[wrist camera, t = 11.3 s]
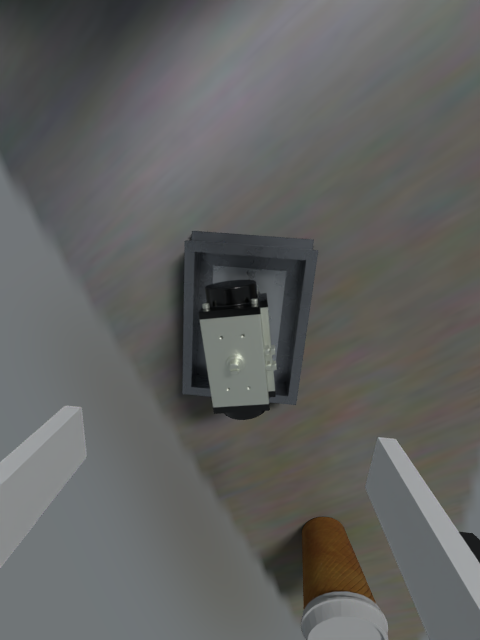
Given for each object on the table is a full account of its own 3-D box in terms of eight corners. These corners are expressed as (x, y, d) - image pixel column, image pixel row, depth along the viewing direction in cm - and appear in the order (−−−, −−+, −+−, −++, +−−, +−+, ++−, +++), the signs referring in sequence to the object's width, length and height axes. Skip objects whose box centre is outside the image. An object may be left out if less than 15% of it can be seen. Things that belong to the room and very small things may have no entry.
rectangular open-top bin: (194, 231, 31) (184, 230, 27) (312, 239, 31) (319, 239, 27) (190, 384, 37) (182, 401, 33) (291, 394, 36) (294, 412, 32)
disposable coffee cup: (292, 556, 44) (304, 669, 32) (289, 508, 41) (301, 612, 30) (355, 555, 43) (391, 672, 31) (356, 507, 40) (395, 614, 29)
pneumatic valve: (228, 371, 34) (214, 437, 23) (216, 275, 31) (191, 296, 20) (274, 367, 34) (282, 433, 22) (266, 270, 31) (270, 288, 19)
